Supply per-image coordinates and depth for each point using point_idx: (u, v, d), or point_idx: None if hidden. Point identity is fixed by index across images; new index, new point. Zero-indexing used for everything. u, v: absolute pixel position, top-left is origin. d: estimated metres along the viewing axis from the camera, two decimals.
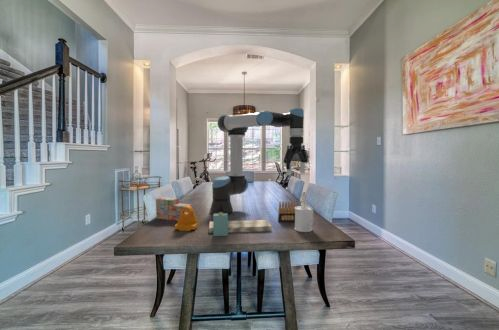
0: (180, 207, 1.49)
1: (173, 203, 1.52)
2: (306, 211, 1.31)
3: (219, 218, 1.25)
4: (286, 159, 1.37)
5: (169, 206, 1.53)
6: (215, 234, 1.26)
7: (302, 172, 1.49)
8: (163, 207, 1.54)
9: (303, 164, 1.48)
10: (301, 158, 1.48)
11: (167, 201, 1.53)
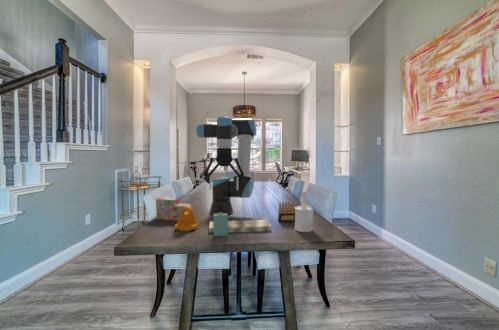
0: (181, 207, 1.49)
1: (174, 203, 1.52)
2: (306, 211, 1.31)
3: (219, 218, 1.25)
4: None
5: (169, 206, 1.52)
6: (215, 234, 1.26)
7: (236, 188, 1.31)
8: (164, 208, 1.54)
9: (237, 179, 1.30)
10: (235, 172, 1.31)
11: (167, 201, 1.52)
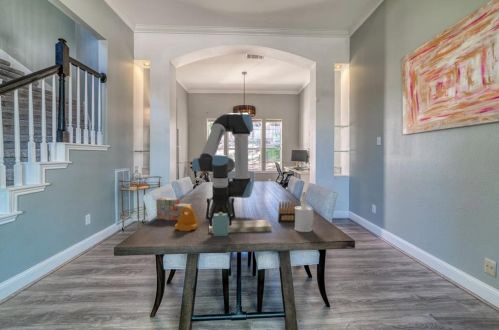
0: (182, 207, 1.49)
1: (174, 203, 1.52)
2: (306, 211, 1.31)
3: (219, 218, 1.25)
4: (206, 215, 1.26)
5: (170, 206, 1.52)
6: (215, 234, 1.26)
7: None
8: (164, 208, 1.53)
9: None
10: (227, 213, 1.28)
11: (168, 201, 1.52)
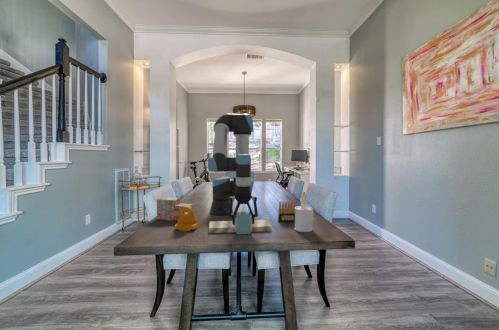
0: None
1: (175, 203, 1.52)
2: (306, 211, 1.31)
3: (242, 217, 1.26)
4: (229, 214, 1.27)
5: (170, 206, 1.52)
6: (238, 232, 1.27)
7: None
8: (165, 208, 1.53)
9: None
10: None
11: (169, 201, 1.52)
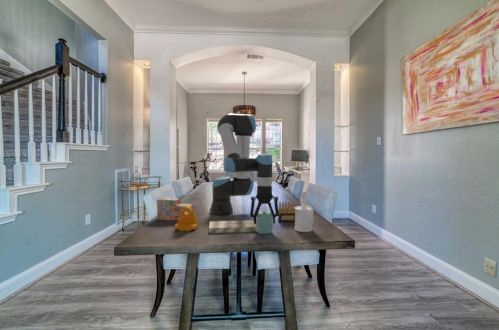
0: None
1: (175, 203, 1.52)
2: (306, 211, 1.31)
3: (264, 216, 1.28)
4: (250, 213, 1.28)
5: (171, 206, 1.52)
6: (259, 232, 1.28)
7: None
8: (165, 208, 1.53)
9: None
10: None
11: (169, 201, 1.52)
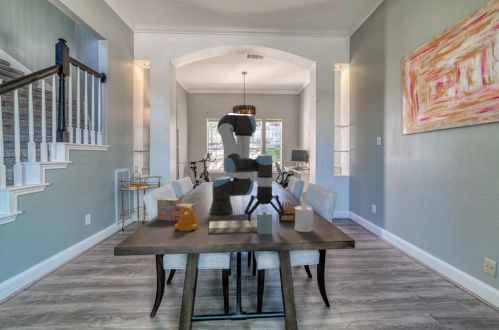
0: None
1: (176, 203, 1.52)
2: (306, 211, 1.31)
3: (264, 217, 1.28)
4: (245, 210, 1.28)
5: (171, 206, 1.52)
6: (260, 232, 1.28)
7: (277, 225, 1.31)
8: (166, 208, 1.52)
9: (277, 216, 1.30)
10: (275, 209, 1.30)
11: (170, 201, 1.51)
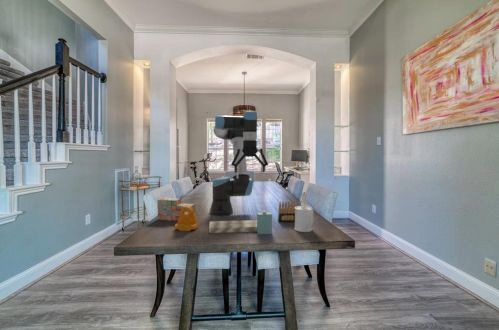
0: None
1: (176, 203, 1.51)
2: (306, 211, 1.31)
3: (264, 217, 1.28)
4: (232, 162, 1.41)
5: (172, 206, 1.51)
6: (260, 232, 1.28)
7: (261, 176, 1.44)
8: (166, 208, 1.52)
9: (261, 168, 1.43)
10: None
11: (170, 202, 1.51)
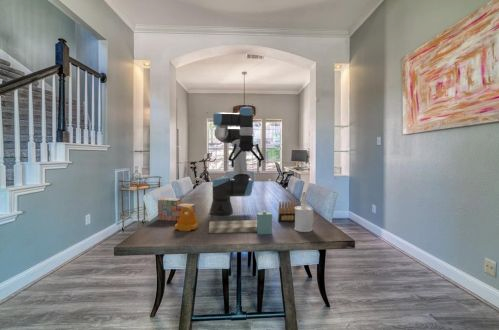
0: None
1: (177, 203, 1.51)
2: (306, 211, 1.31)
3: (264, 217, 1.28)
4: (229, 157, 1.44)
5: (172, 206, 1.51)
6: (260, 232, 1.28)
7: (257, 171, 1.46)
8: (166, 208, 1.52)
9: (257, 163, 1.46)
10: None
11: (170, 202, 1.51)
